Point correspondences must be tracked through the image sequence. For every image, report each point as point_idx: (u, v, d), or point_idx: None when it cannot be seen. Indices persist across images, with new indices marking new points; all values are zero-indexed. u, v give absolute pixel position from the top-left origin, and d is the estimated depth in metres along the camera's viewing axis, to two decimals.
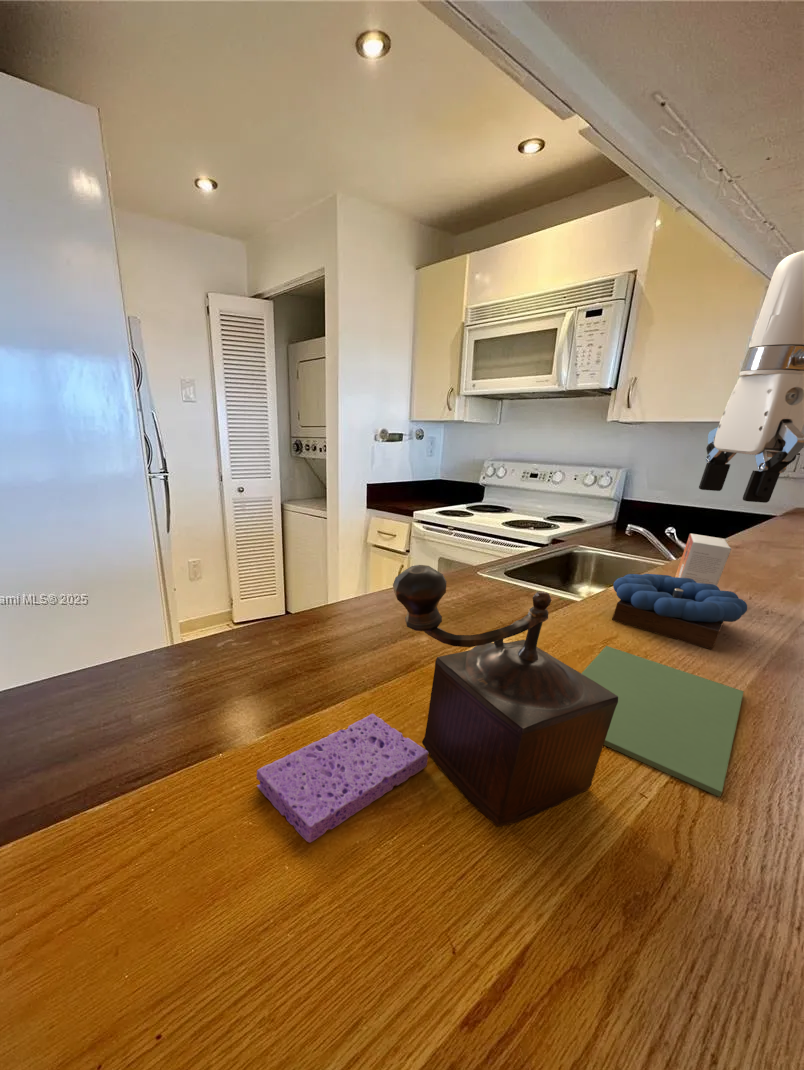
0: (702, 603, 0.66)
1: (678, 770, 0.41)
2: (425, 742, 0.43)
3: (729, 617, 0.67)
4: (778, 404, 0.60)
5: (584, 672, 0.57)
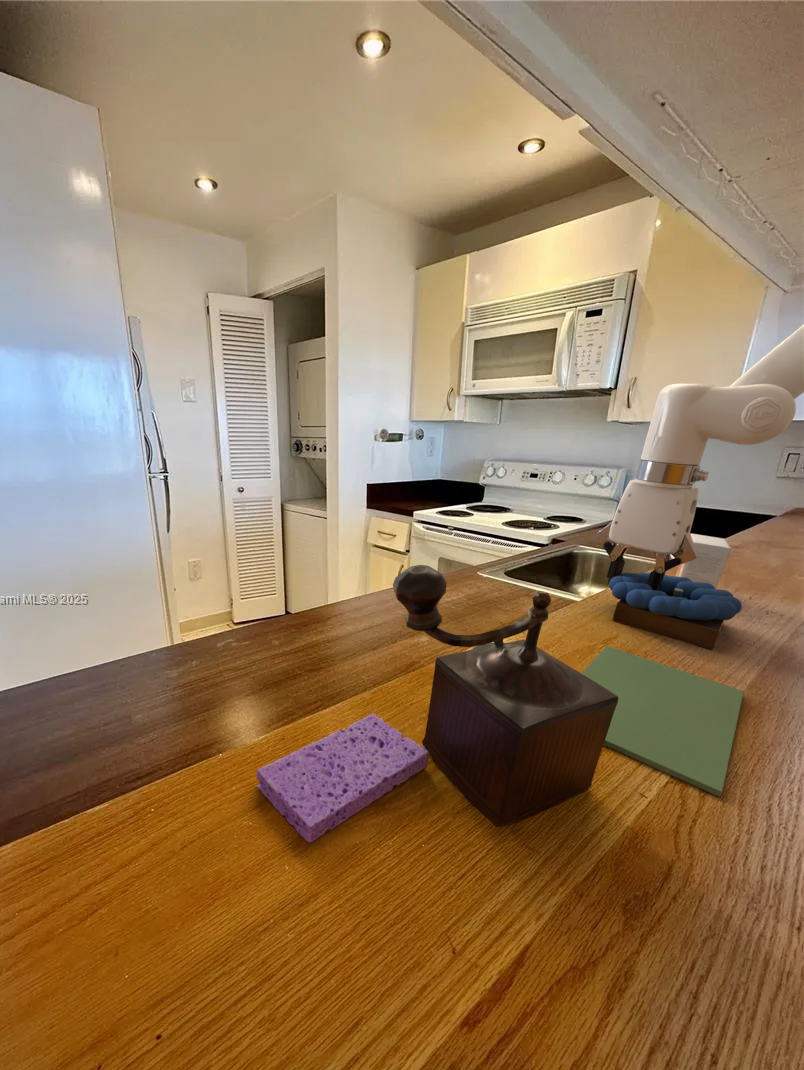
0: (696, 601, 0.67)
1: (678, 770, 0.41)
2: (425, 742, 0.43)
3: (723, 615, 0.67)
4: (685, 515, 0.68)
5: (584, 672, 0.57)
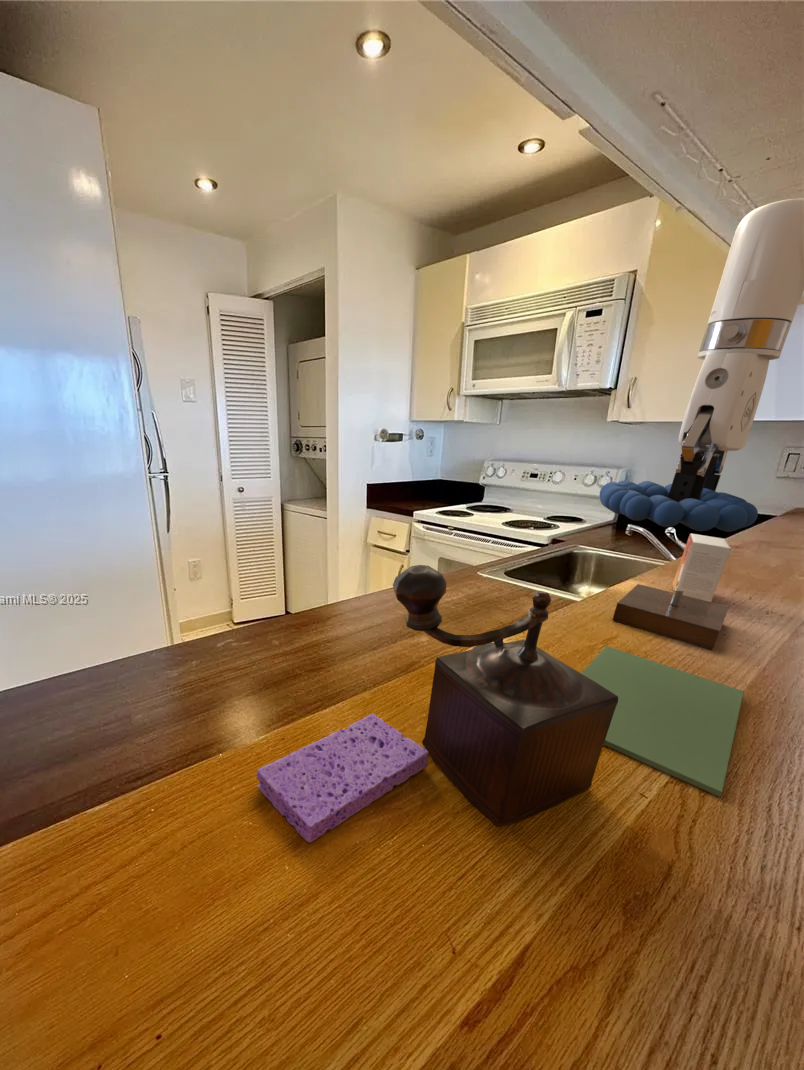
0: (616, 487, 0.57)
1: (678, 770, 0.41)
2: (425, 742, 0.43)
3: (622, 508, 0.54)
4: (698, 389, 0.53)
5: (584, 672, 0.57)
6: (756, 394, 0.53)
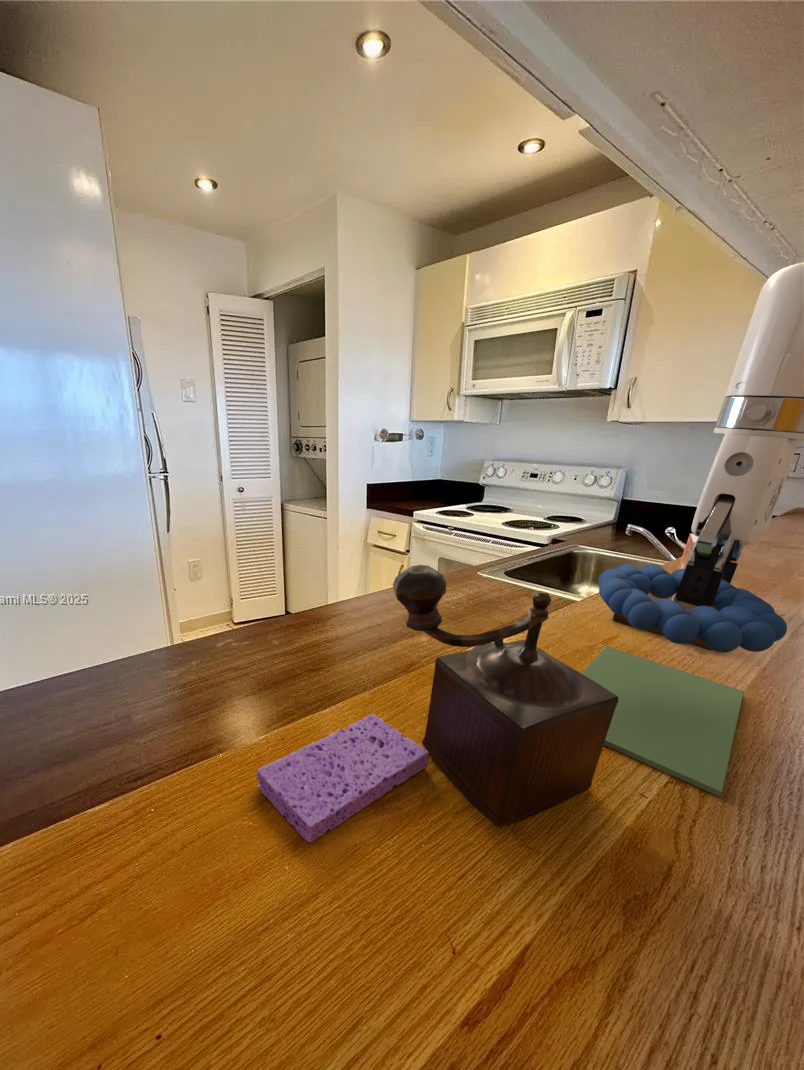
0: (618, 582, 0.49)
1: (678, 770, 0.41)
2: (425, 742, 0.43)
3: (625, 613, 0.46)
4: (716, 474, 0.45)
5: (584, 672, 0.57)
6: (783, 479, 0.45)
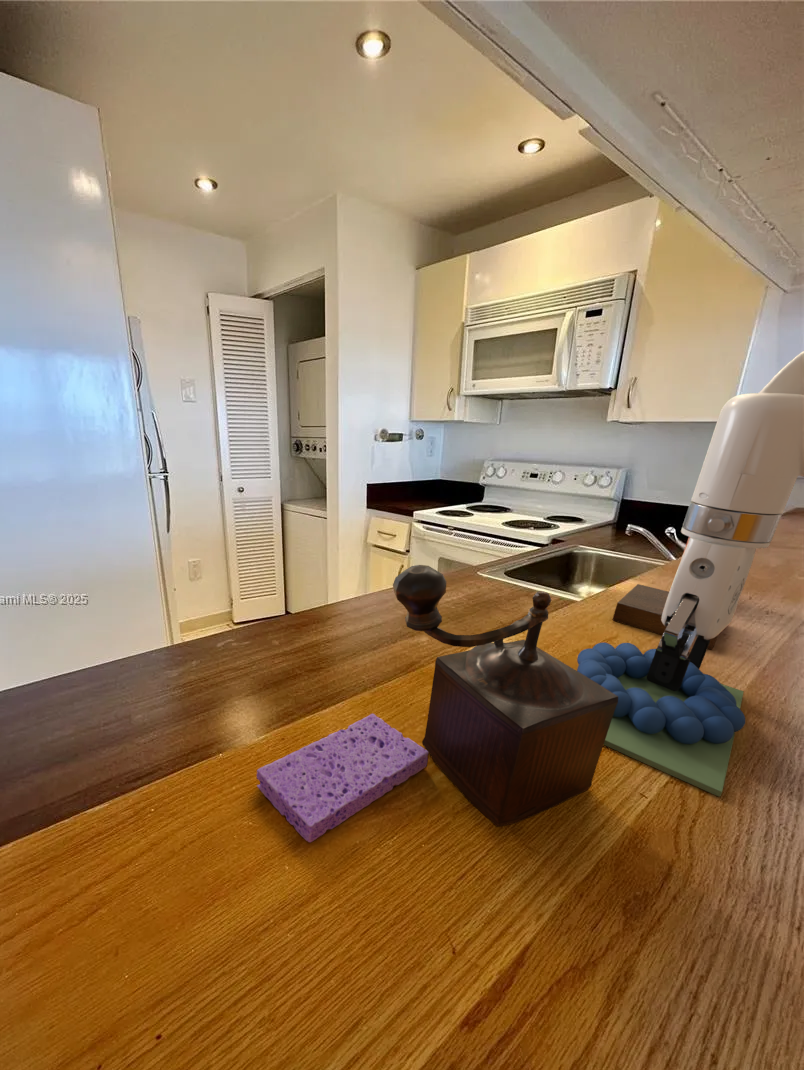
0: (594, 666, 0.52)
1: (678, 770, 0.41)
2: (425, 742, 0.43)
3: None
4: (682, 574, 0.48)
5: None
6: (744, 578, 0.49)
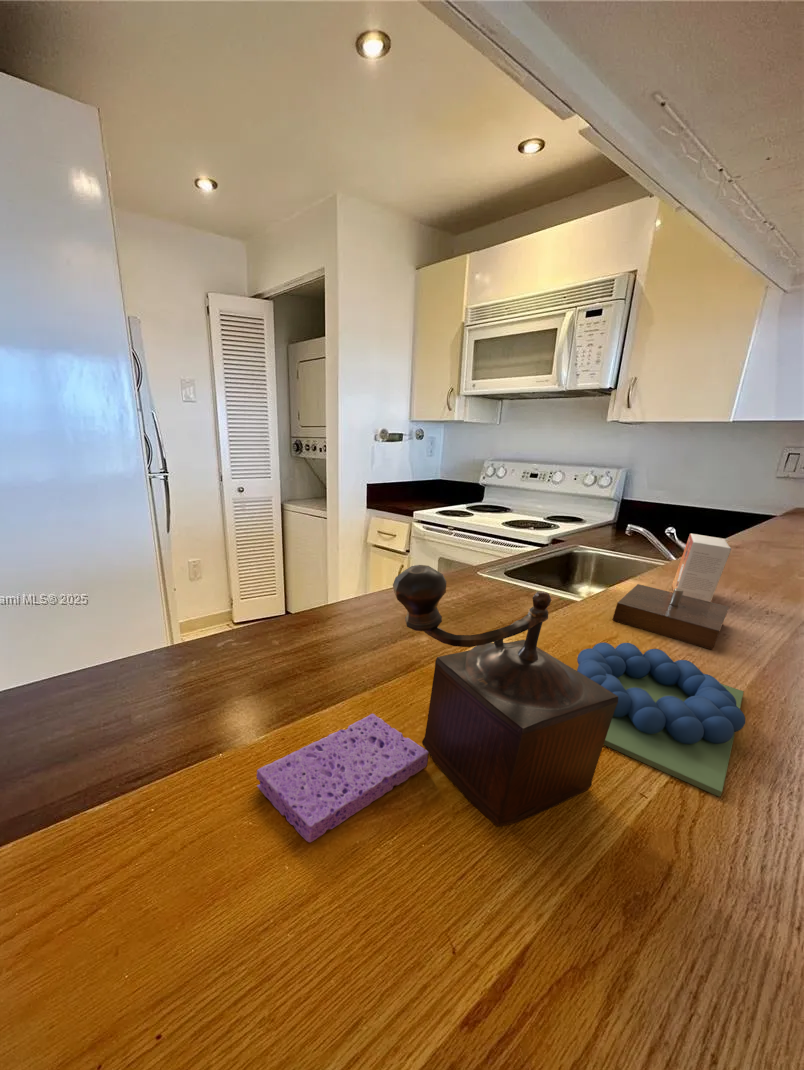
0: (594, 666, 0.52)
1: (678, 770, 0.41)
2: (425, 742, 0.43)
3: None
4: None
5: None
6: None
